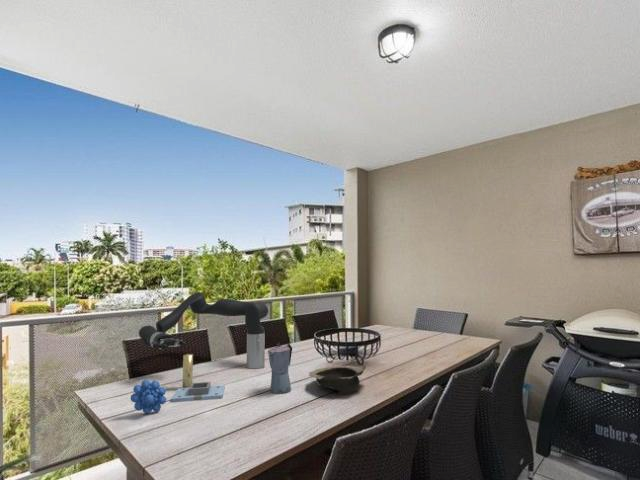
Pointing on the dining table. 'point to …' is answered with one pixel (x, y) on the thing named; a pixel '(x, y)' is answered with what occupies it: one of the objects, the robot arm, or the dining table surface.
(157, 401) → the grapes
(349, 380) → the stone bowl
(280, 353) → the moka pot
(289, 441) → the dining table surface
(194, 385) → the square socket mounting plate
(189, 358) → the pin
